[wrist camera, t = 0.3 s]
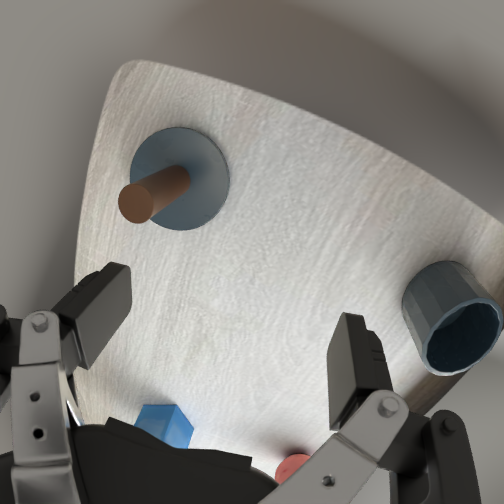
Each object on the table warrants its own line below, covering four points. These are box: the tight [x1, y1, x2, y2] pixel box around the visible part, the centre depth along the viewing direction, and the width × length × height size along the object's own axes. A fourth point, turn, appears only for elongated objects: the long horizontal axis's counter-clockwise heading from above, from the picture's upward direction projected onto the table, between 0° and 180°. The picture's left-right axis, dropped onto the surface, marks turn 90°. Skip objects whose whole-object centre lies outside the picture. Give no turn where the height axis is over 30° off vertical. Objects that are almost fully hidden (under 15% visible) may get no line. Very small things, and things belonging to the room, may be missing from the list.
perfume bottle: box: [134, 405, 194, 449], centre depth 38 cm, size 6×6×12 cm
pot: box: [402, 261, 503, 376], centre depth 26 cm, size 9×9×8 cm
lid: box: [118, 127, 229, 230], centre depth 24 cm, size 10×10×9 cm
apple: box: [275, 454, 310, 484], centre depth 41 cm, size 7×7×8 cm
